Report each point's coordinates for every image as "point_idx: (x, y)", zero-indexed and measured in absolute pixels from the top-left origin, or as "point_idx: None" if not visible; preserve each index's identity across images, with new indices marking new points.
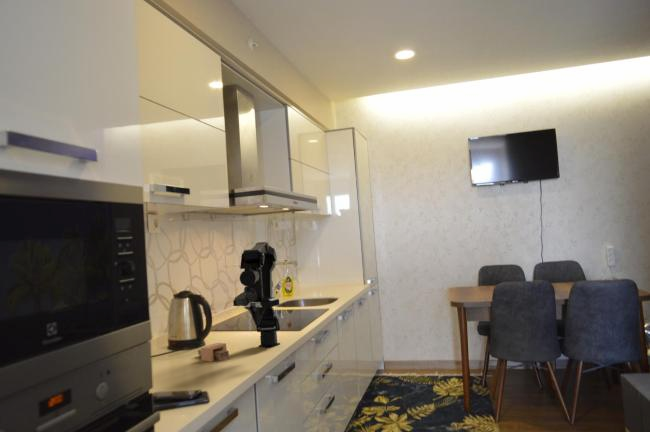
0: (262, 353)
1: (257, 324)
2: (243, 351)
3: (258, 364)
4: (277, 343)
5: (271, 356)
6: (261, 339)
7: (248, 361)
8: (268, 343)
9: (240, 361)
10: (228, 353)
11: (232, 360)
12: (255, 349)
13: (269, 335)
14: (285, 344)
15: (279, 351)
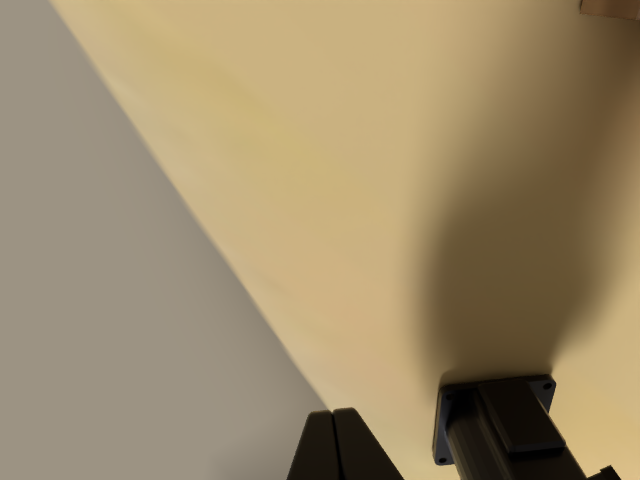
0: (395, 282)
1: (305, 428)
2: (598, 256)
3: (129, 20)
4: (447, 453)
5: (251, 258)
6: (537, 419)
7: (321, 54)
8: (473, 414)
9: (403, 15)
10: (616, 14)
11: (515, 3)
12: (532, 327)
13: (489, 475)
14: (401, 468)
15: (306, 364)
